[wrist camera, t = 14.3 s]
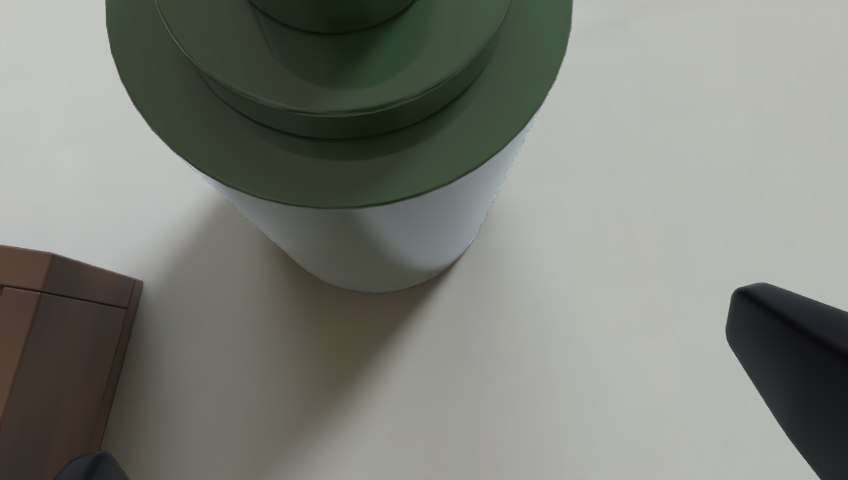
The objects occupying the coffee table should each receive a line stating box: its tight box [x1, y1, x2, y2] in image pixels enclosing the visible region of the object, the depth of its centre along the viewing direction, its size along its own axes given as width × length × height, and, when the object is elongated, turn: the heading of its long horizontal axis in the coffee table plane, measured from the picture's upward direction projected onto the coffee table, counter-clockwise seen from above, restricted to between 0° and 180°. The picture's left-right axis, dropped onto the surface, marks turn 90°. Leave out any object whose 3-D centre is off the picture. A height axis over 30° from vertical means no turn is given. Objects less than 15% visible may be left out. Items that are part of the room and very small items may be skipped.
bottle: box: [105, 0, 573, 293], centre depth 11 cm, size 6×6×11 cm
